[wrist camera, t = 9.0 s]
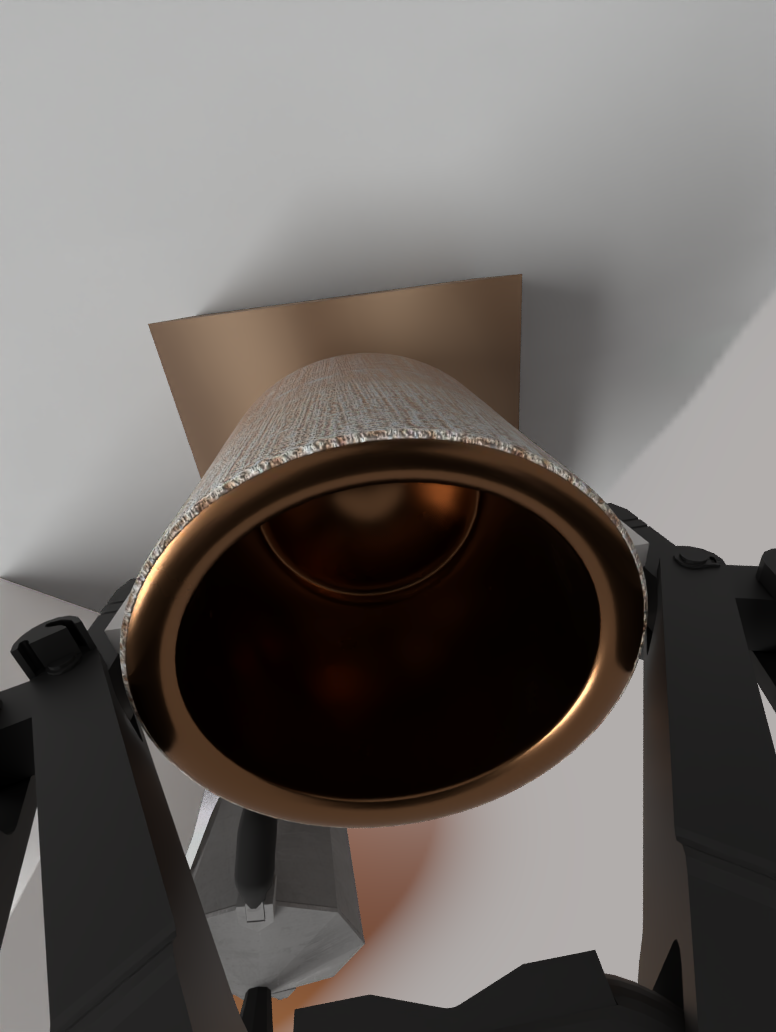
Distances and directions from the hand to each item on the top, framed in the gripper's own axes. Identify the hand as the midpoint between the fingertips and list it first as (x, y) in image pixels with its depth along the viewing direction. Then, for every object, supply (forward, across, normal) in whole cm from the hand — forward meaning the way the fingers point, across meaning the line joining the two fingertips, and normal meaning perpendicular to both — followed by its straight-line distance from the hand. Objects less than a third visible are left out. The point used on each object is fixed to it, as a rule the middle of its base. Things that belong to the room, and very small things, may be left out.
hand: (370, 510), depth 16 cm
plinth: (+10, 0, 0) cm, 10 cm away
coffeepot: (+10, -8, -18) cm, 22 cm away
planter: (+2, 0, 0) cm, 2 cm away
